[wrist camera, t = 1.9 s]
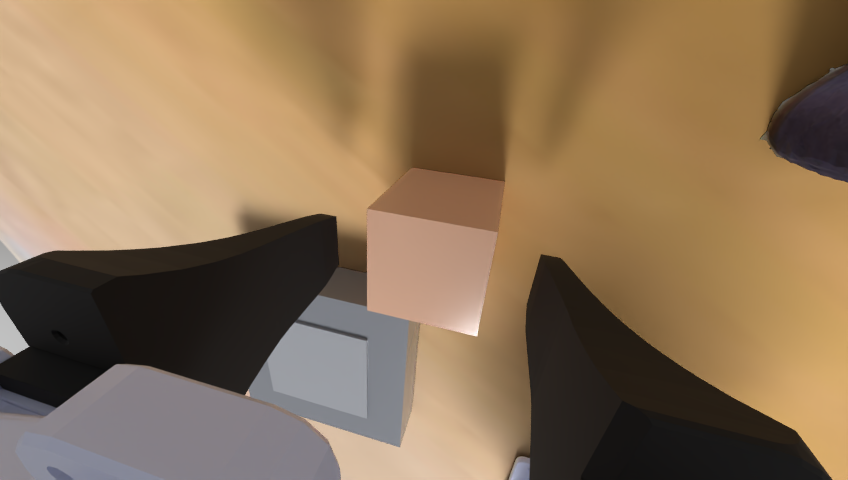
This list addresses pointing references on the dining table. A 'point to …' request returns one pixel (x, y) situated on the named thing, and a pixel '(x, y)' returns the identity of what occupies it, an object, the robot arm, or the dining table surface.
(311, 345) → the slate plinth
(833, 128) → the flask
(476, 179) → the terracotta block
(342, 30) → the dining table surface
